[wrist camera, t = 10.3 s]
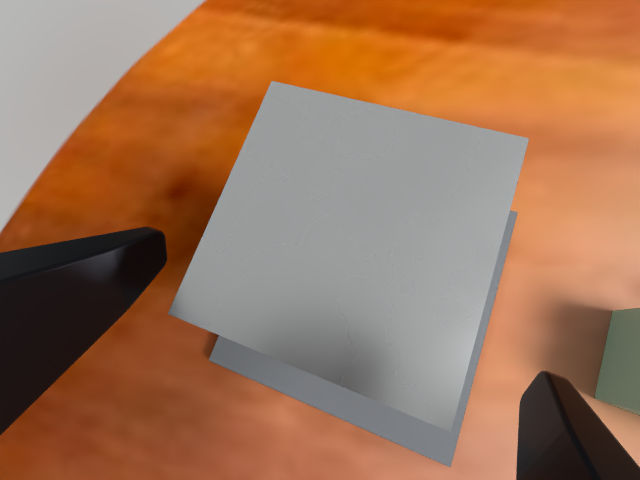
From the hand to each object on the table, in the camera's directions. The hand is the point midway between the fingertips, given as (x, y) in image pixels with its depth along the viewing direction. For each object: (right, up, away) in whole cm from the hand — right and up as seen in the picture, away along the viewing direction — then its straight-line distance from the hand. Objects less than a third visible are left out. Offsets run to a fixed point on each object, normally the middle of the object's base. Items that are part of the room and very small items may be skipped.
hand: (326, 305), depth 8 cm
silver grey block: (+2, -1, +9) cm, 10 cm away
